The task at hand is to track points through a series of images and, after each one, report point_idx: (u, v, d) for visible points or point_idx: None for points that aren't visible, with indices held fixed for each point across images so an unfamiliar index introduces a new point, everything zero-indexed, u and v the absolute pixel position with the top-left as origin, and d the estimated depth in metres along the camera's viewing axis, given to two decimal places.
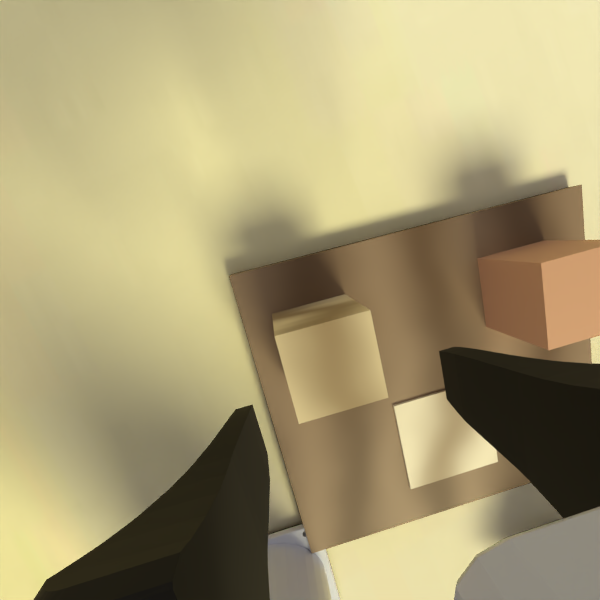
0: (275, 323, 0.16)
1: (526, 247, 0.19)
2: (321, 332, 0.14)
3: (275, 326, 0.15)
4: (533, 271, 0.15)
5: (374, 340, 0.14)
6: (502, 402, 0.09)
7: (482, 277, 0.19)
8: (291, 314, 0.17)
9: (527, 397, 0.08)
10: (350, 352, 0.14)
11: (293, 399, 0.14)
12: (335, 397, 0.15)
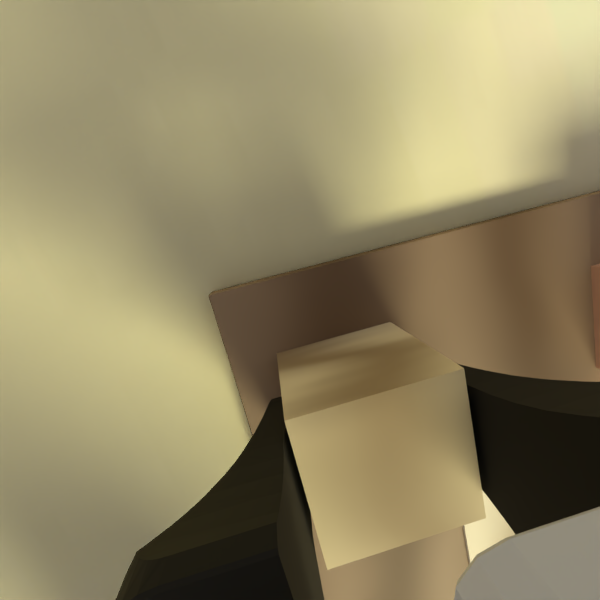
0: (283, 379, 0.09)
1: None
2: (373, 411, 0.07)
3: (284, 388, 0.09)
4: None
5: (468, 422, 0.08)
6: None
7: (599, 295, 0.12)
8: (309, 359, 0.10)
9: (479, 411, 0.08)
10: (424, 444, 0.08)
11: (318, 530, 0.08)
12: (393, 522, 0.08)
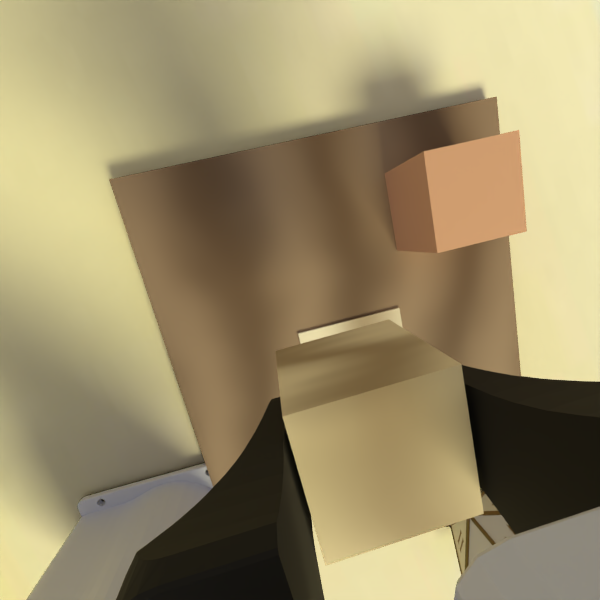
0: (282, 376, 0.09)
1: None
2: (371, 406, 0.07)
3: (282, 385, 0.09)
4: (419, 164, 0.14)
5: (465, 417, 0.08)
6: None
7: (389, 193, 0.18)
8: (307, 356, 0.10)
9: (479, 411, 0.08)
10: (422, 440, 0.08)
11: (316, 525, 0.08)
12: (391, 518, 0.08)
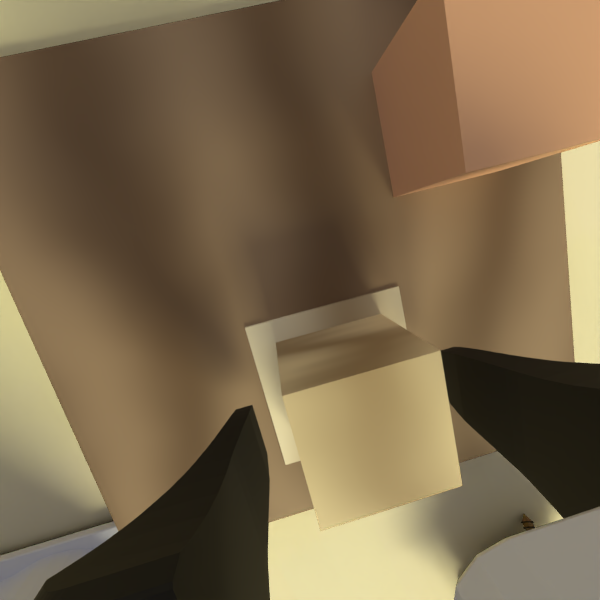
0: (282, 364, 0.10)
1: None
2: (360, 388, 0.08)
3: (282, 371, 0.10)
4: (431, 4, 0.08)
5: (444, 398, 0.09)
6: (502, 402, 0.09)
7: (380, 103, 0.11)
8: (305, 346, 0.11)
9: (527, 397, 0.08)
10: (406, 418, 0.09)
11: (312, 494, 0.09)
12: (379, 488, 0.09)
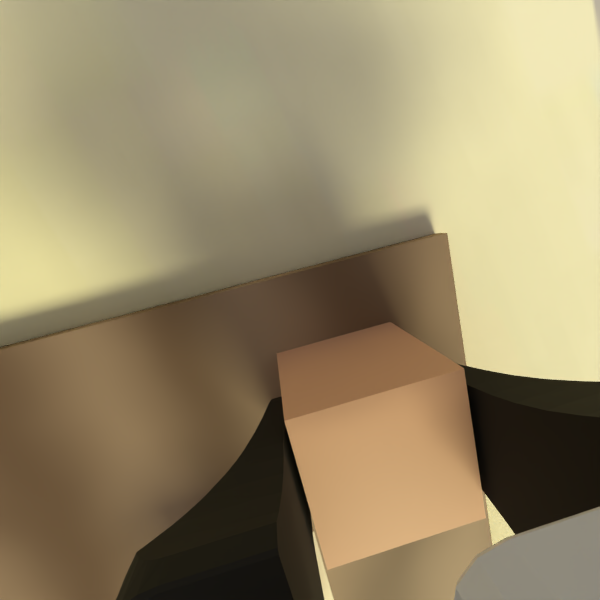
0: None
1: (351, 338, 0.11)
2: None
3: None
4: None
5: None
6: None
7: None
8: None
9: (479, 411, 0.08)
10: None
11: None
12: None
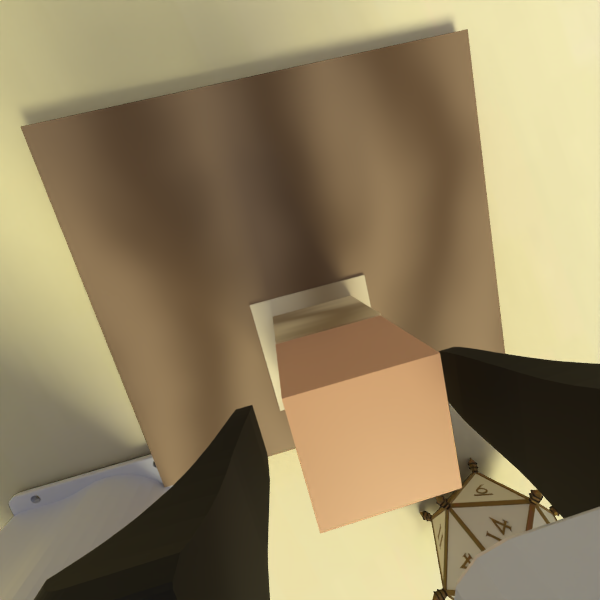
0: (276, 327, 0.15)
1: (343, 330, 0.12)
2: None
3: (276, 331, 0.14)
4: None
5: None
6: (502, 402, 0.09)
7: None
8: (293, 317, 0.16)
9: (527, 397, 0.08)
10: None
11: None
12: None
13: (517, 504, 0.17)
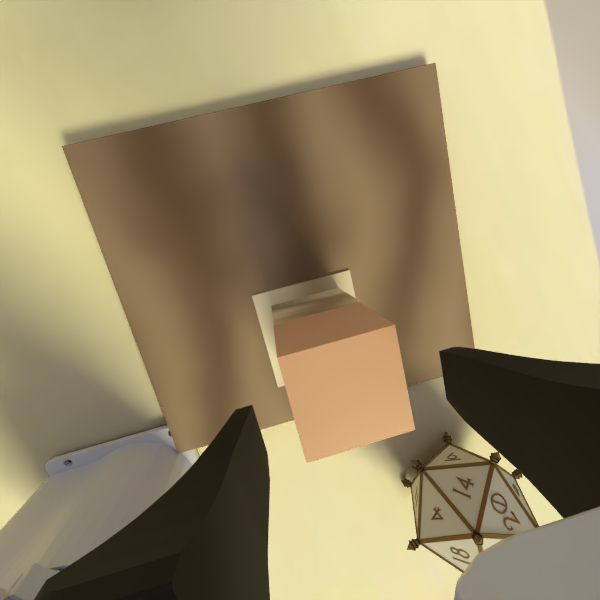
0: (274, 313, 0.18)
1: (328, 313, 0.15)
2: None
3: (274, 315, 0.17)
4: None
5: None
6: (502, 402, 0.09)
7: None
8: (289, 305, 0.19)
9: (527, 397, 0.08)
10: None
11: None
12: None
13: (479, 465, 0.20)
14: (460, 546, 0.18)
